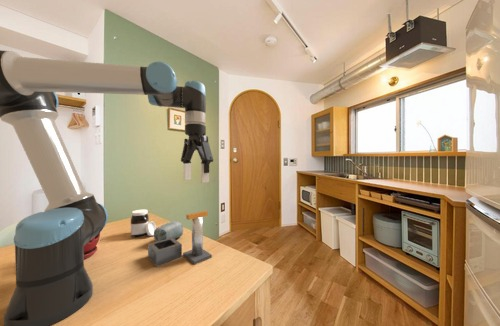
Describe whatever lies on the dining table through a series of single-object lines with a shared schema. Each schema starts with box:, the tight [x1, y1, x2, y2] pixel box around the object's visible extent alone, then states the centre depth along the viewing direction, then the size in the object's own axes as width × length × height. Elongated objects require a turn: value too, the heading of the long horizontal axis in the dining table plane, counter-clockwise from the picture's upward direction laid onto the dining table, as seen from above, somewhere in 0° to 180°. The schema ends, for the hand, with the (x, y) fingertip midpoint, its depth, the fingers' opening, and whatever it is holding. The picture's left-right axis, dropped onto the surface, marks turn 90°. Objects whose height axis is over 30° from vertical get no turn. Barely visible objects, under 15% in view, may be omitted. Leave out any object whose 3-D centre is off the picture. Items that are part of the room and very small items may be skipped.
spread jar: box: [130, 208, 158, 238], centre depth 93 cm, size 12×11×12 cm
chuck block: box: [147, 237, 183, 268], centre depth 71 cm, size 9×9×5 cm
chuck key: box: [185, 210, 209, 256], centre depth 72 cm, size 4×8×16 cm, turn 135°
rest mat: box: [182, 249, 213, 265], centre depth 72 cm, size 7×9×1 cm
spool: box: [153, 220, 184, 242], centre depth 86 cm, size 14×10×10 cm
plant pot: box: [84, 232, 101, 260], centre depth 72 cm, size 13×13×12 cm
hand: (195, 180), depth 71 cm, fingers open, 13 cm apart
